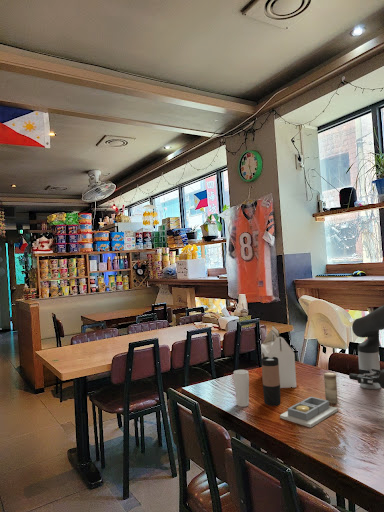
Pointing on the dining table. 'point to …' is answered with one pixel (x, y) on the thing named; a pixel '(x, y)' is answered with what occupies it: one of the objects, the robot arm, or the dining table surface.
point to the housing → (309, 412)
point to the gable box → (280, 357)
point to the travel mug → (271, 381)
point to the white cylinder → (242, 387)
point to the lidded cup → (330, 388)
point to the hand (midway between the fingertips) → (354, 373)
